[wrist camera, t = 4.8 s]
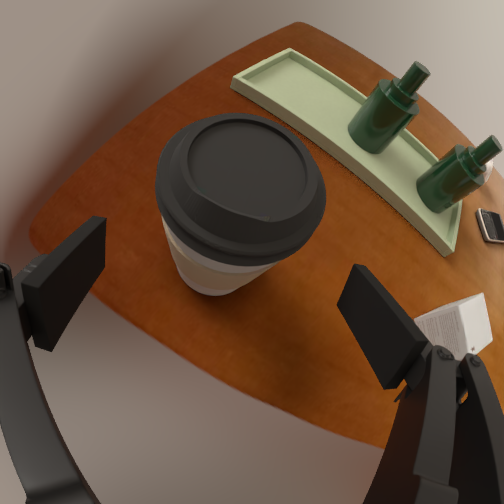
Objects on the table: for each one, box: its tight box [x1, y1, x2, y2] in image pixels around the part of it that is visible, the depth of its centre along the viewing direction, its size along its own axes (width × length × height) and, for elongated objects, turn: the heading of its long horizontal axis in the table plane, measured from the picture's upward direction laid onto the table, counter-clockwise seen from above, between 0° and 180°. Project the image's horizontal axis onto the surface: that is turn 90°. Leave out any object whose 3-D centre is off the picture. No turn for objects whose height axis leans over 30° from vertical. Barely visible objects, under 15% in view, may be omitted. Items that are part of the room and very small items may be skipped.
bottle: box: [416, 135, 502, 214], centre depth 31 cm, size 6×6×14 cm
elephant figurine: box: [483, 159, 493, 183], centre depth 43 cm, size 7×8×6 cm
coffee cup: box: [155, 113, 326, 296], centre depth 20 cm, size 9×9×15 cm
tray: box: [230, 48, 463, 257], centre depth 37 cm, size 38×16×2 cm, turn 54°
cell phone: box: [476, 209, 504, 243], centre depth 40 cm, size 6×11×1 cm, turn 94°
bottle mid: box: [348, 61, 430, 154], centre depth 31 cm, size 6×6×14 cm
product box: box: [414, 293, 493, 361], centre depth 26 cm, size 6×6×7 cm
